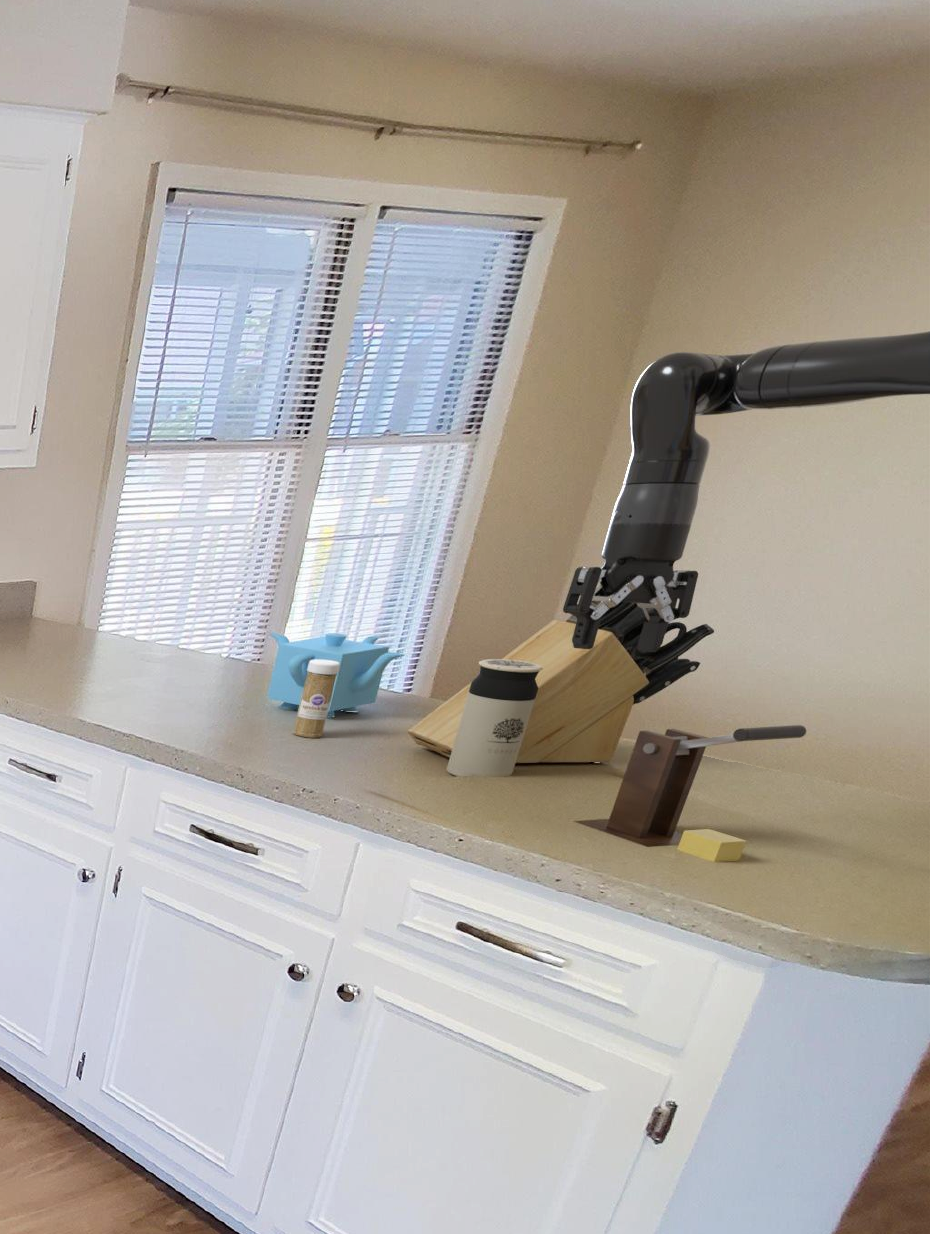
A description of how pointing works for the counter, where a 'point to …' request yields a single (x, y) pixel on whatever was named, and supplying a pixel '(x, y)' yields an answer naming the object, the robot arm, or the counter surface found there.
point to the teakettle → (352, 680)
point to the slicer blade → (742, 737)
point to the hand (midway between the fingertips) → (614, 649)
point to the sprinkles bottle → (316, 698)
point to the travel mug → (494, 718)
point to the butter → (711, 845)
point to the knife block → (579, 688)
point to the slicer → (653, 790)
